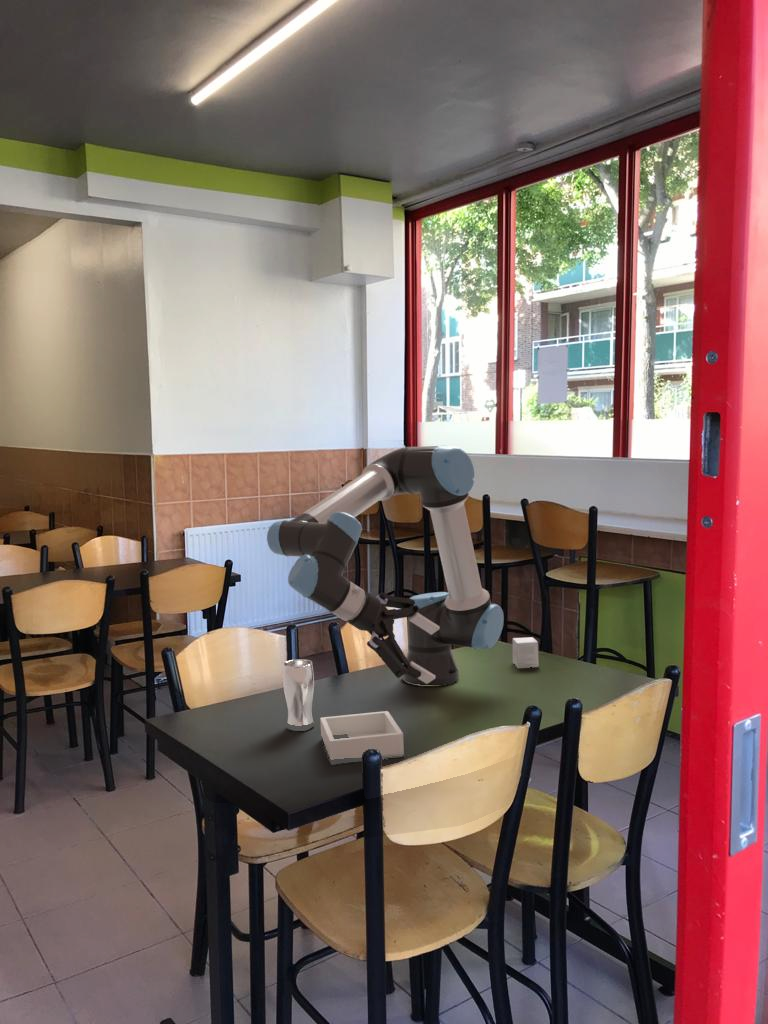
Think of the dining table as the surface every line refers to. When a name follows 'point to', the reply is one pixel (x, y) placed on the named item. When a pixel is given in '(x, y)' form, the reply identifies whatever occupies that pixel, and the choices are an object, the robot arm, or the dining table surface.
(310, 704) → the beer glass
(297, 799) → the dining table surface
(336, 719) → the tote
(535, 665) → the product box
